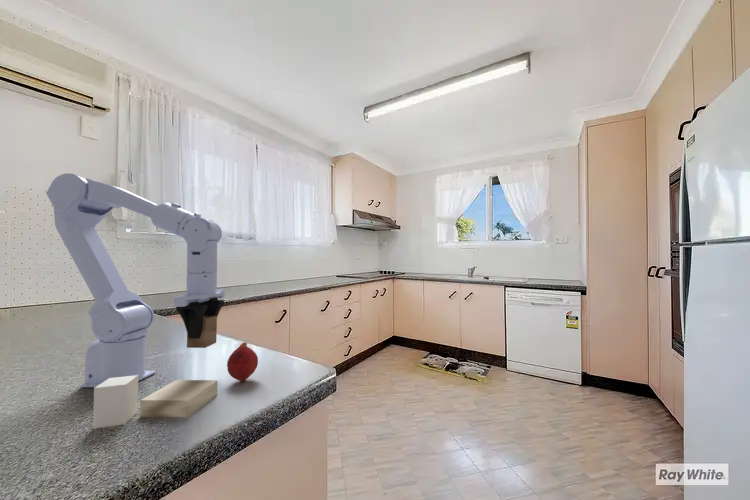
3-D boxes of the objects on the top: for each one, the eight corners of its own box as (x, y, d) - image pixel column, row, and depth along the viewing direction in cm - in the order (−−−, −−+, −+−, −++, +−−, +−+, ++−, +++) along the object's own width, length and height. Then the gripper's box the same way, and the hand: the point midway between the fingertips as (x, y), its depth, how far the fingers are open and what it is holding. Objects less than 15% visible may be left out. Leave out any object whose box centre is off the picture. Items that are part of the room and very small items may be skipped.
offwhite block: (92, 428, 44) (94, 388, 44) (108, 415, 47) (109, 378, 48) (125, 424, 45) (126, 384, 45) (137, 411, 49) (138, 375, 49)
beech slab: (140, 419, 47) (140, 400, 47) (175, 396, 55) (176, 380, 55) (188, 419, 47) (188, 400, 47) (217, 396, 55) (217, 380, 55)
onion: (245, 388, 57) (246, 347, 57) (220, 386, 58) (220, 345, 59) (263, 377, 63) (263, 339, 63) (239, 375, 64) (239, 338, 64)
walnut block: (186, 347, 61) (187, 319, 62) (198, 342, 65) (199, 315, 66) (205, 347, 61) (206, 319, 62) (216, 342, 65) (216, 315, 66)
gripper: (198, 274, 57) (197, 344, 56) (236, 271, 71) (236, 327, 71) (163, 274, 57) (162, 344, 56) (208, 272, 71) (207, 327, 71)
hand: (201, 335), depth 63 cm, fingers closed on walnut block, 4 cm apart
